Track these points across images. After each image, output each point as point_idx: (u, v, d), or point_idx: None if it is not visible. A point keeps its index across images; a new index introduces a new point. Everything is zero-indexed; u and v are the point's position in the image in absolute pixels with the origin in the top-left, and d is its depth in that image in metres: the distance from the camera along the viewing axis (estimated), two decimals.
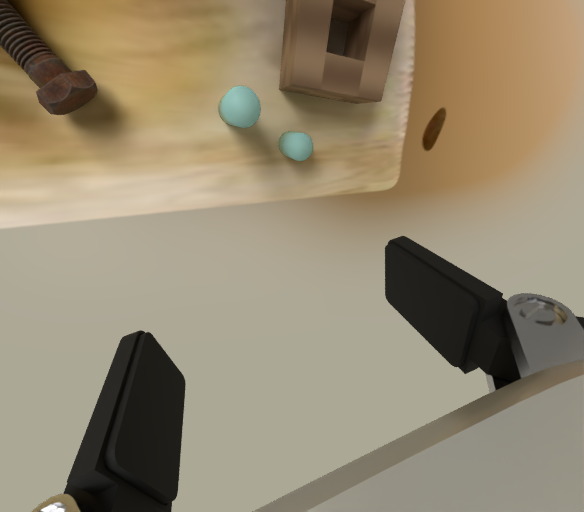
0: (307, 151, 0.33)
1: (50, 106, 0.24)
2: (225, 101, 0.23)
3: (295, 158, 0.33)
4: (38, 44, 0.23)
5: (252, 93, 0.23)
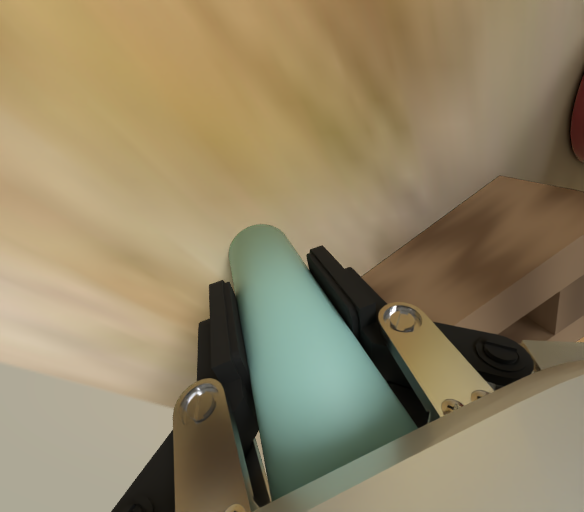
0: None
1: None
2: None
3: None
4: None
5: None
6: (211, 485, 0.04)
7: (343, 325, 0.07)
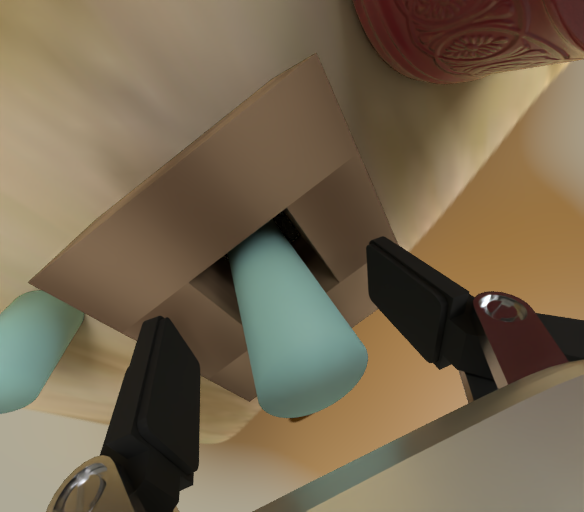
0: (7, 402, 0.11)
1: None
2: (295, 350, 0.06)
3: None
4: None
5: (361, 366, 0.08)
6: None
7: (307, 271, 0.10)
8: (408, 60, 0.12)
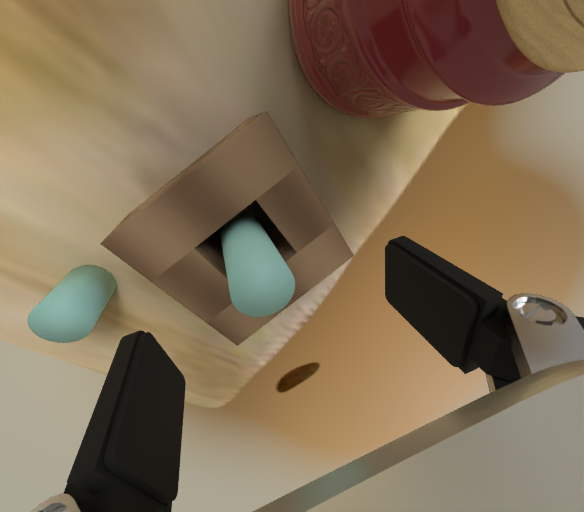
0: (72, 334, 0.17)
1: None
2: (248, 267, 0.12)
3: (36, 331, 0.16)
4: None
5: (291, 285, 0.13)
6: None
7: (267, 239, 0.16)
8: (338, 105, 0.18)
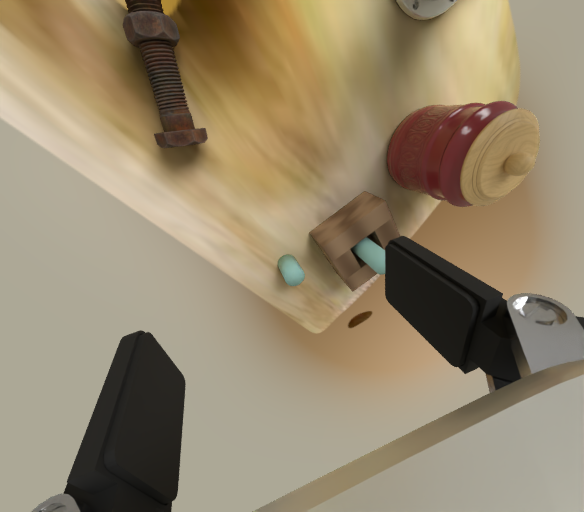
0: (296, 282, 0.42)
1: (167, 145, 0.28)
2: (383, 257, 0.37)
3: (286, 280, 0.41)
4: (183, 100, 0.27)
5: None
6: None
7: (379, 246, 0.40)
8: (404, 187, 0.43)
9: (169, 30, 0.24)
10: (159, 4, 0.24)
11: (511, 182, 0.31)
